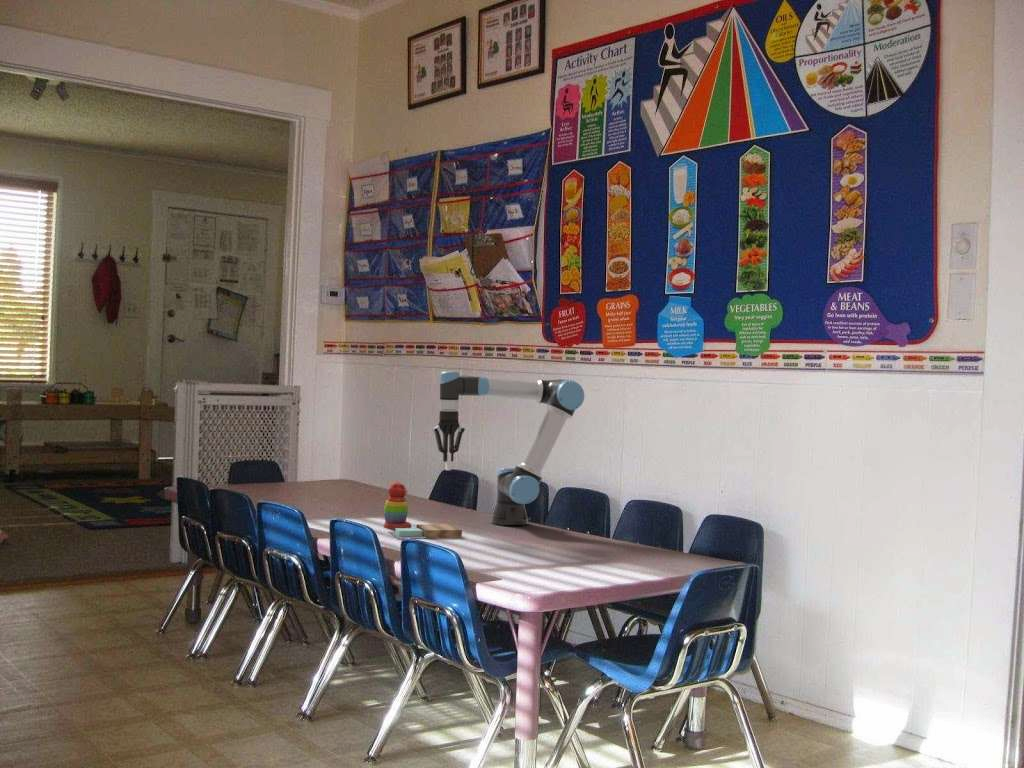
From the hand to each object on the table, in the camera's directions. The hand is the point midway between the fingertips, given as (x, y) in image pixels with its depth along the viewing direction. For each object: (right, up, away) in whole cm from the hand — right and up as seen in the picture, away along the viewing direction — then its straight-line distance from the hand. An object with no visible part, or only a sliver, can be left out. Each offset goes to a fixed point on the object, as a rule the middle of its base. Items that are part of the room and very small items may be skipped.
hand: (448, 469), depth 436 cm
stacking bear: (-20, -23, -1) cm, 31 cm away
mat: (-14, -23, -19) cm, 33 cm away
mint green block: (-14, -23, -19) cm, 33 cm away
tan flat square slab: (-3, -24, -14) cm, 28 cm away
